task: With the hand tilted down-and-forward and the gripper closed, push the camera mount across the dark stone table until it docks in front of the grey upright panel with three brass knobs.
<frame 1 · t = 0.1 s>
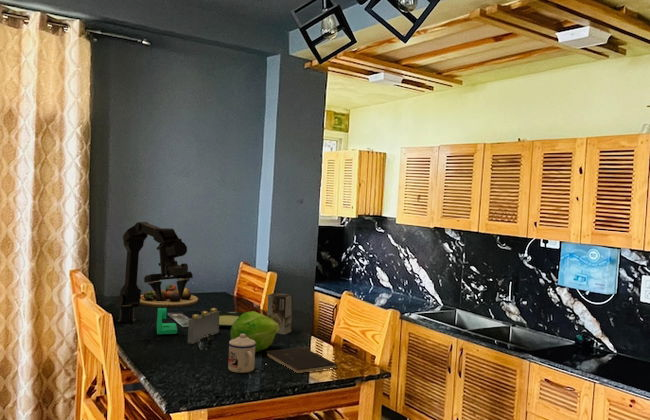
hand: (170, 298, 218), 15 cm above the table, fingers open, 9 cm apart
wooden plate with food: (167, 302, 289), on the table
hardcover book: (300, 364, 195), on the table
teacup with lid: (242, 370, 183), on the table
lettuce: (255, 350, 207), on the table
grey upright panel: (203, 337, 221), on the table
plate: (228, 323, 250), on the table
camera mount: (166, 333, 226), on the table
coffee box: (278, 332, 237), on the table
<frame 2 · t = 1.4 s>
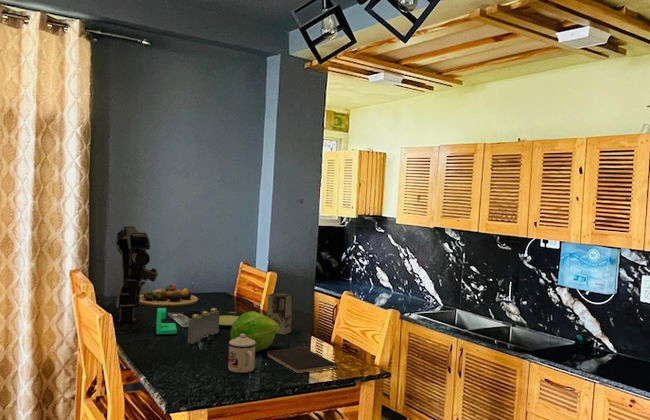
hand: (135, 300, 228), 12 cm above the table, fingers open, 5 cm apart
nothing on the table moved.
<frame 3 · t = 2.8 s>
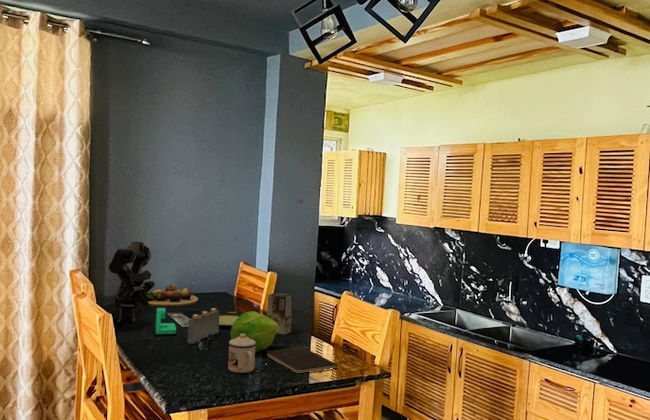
hand: (148, 305, 229), 10 cm above the table, fingers closed
nothing on the table moved.
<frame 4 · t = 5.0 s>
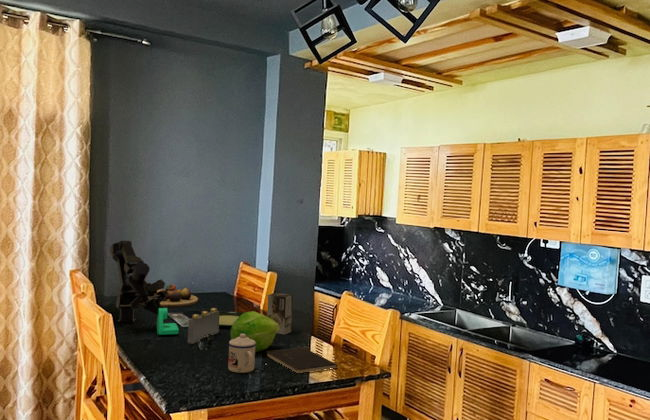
hand: (161, 315, 227), 7 cm above the table, fingers closed
camera mount: (167, 333, 225), on the table, touching gripper
everything else where it was.
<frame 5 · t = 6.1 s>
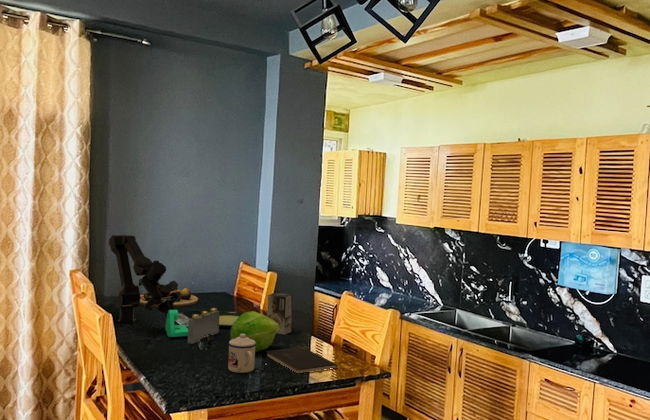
hand: (175, 317, 225), 7 cm above the table, fingers closed
camera mount: (177, 335, 223), on the table, touching gripper
everything else where it was.
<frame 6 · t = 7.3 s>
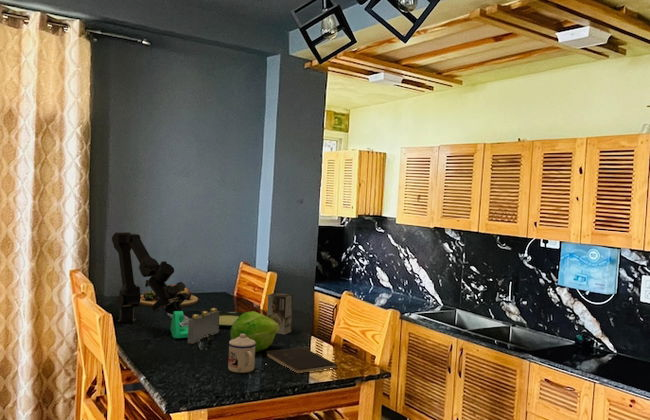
hand: (182, 318, 224), 7 cm above the table, fingers closed
camera mount: (182, 337, 222), on the table, touching gripper
everything else where it was.
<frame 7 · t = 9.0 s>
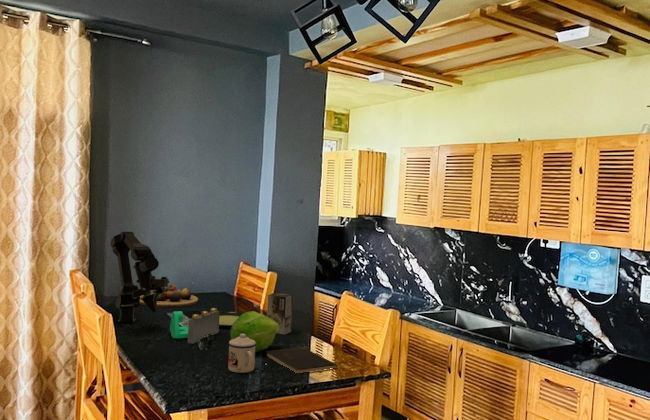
hand: (155, 312, 226), 8 cm above the table, fingers closed
camera mount: (182, 337, 221), on the table
everything else where it was.
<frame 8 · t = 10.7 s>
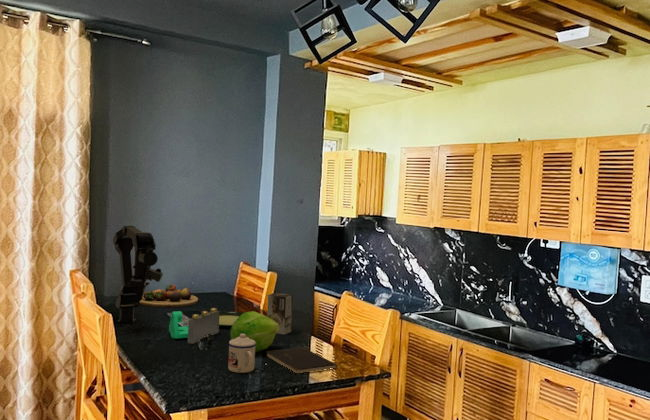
hand: (140, 300, 228), 12 cm above the table, fingers closed
nothing on the table moved.
at the end: camera mount moved 8.7 cm from its start; camera mount inside the target area (3.0 cm from its centre), on the table; camera mount tilted 0° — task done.
